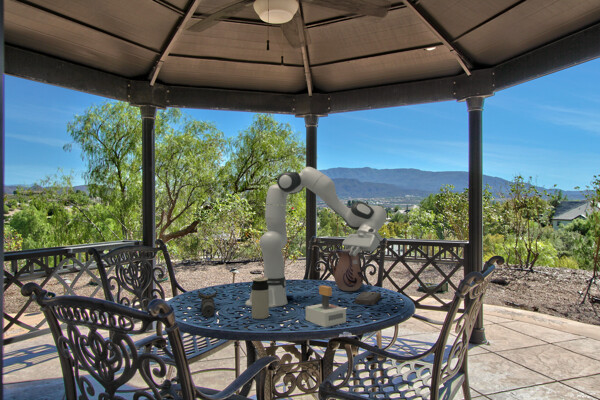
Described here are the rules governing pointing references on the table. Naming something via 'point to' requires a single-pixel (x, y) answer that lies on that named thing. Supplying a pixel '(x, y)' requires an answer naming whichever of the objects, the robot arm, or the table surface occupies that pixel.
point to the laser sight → (208, 303)
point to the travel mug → (260, 298)
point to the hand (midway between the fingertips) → (351, 255)
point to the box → (368, 298)
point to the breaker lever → (325, 294)
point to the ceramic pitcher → (347, 270)
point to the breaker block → (326, 315)
